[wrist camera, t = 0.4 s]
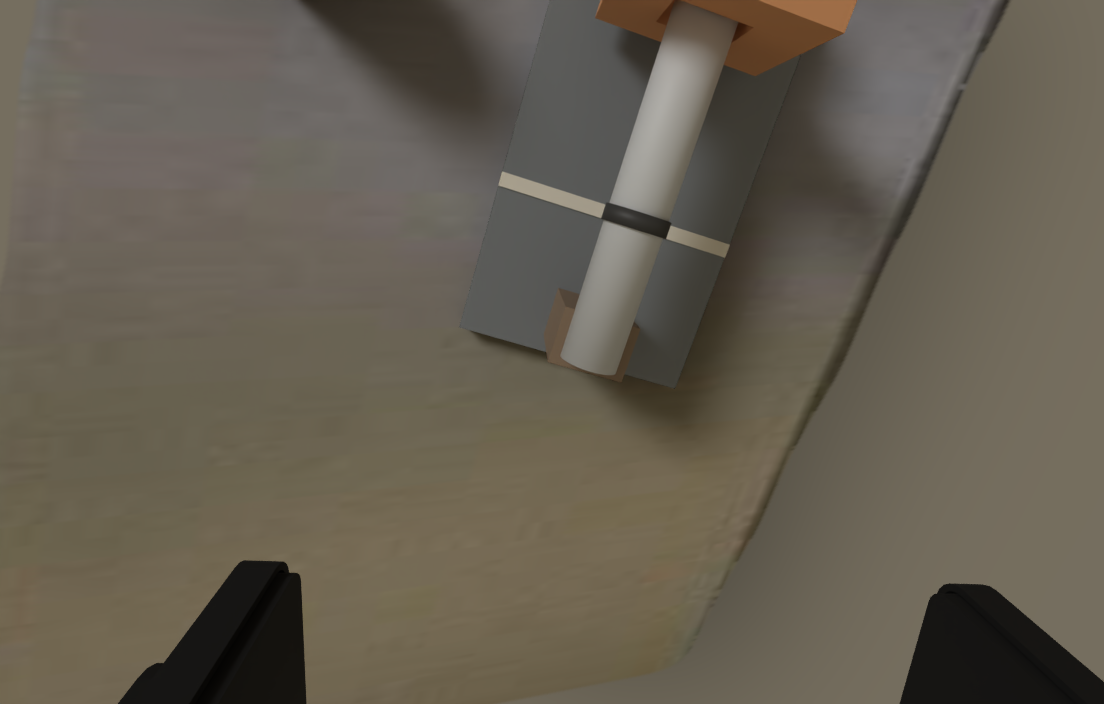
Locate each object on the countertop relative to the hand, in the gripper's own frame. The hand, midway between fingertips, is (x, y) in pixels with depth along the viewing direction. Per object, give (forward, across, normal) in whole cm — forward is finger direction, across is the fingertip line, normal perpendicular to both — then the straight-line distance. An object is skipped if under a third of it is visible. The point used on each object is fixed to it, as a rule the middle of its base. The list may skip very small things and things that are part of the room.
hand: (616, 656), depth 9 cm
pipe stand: (+30, -5, -9) cm, 31 cm away
